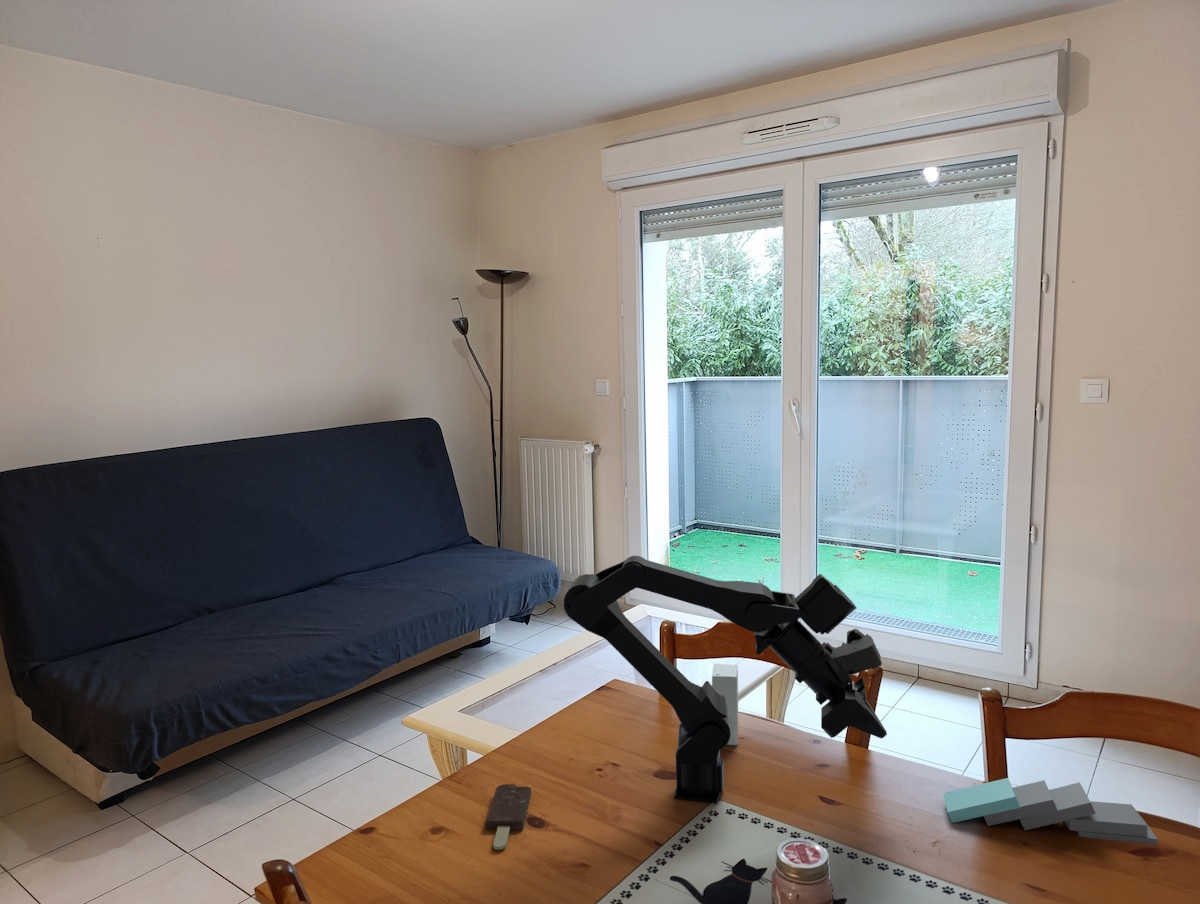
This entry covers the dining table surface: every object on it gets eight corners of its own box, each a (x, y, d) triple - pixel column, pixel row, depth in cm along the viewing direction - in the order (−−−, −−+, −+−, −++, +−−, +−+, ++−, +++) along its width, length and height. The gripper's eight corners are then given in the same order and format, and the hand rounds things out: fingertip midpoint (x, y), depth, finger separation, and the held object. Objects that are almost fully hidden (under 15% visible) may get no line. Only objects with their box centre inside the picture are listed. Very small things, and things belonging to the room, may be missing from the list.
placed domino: (947, 812, 107) (1015, 796, 104) (943, 793, 112) (1008, 777, 109) (952, 822, 107) (1020, 807, 104) (947, 803, 111) (1012, 788, 109)
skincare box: (738, 746, 131) (737, 677, 129) (712, 744, 131) (711, 676, 130) (739, 729, 136) (738, 663, 135) (714, 728, 137) (713, 662, 136)
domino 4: (1079, 831, 103) (1157, 839, 100) (1067, 810, 107) (1141, 817, 105) (1079, 842, 103) (1157, 850, 100) (1066, 821, 108) (1141, 828, 105)
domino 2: (1019, 819, 104) (1090, 802, 102) (1012, 799, 109) (1079, 782, 106) (1024, 830, 104) (1095, 813, 102) (1017, 809, 109) (1084, 792, 106)
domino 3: (1069, 818, 103) (1147, 825, 101) (1057, 798, 108) (1131, 804, 105) (1069, 830, 103) (1147, 837, 101) (1057, 809, 108) (1131, 815, 105)
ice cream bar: (518, 853, 104) (531, 793, 119) (517, 842, 104) (531, 783, 119) (479, 854, 104) (497, 794, 119) (478, 842, 104) (497, 783, 119)
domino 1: (983, 815, 106) (1052, 799, 103) (977, 795, 110) (1044, 780, 107) (987, 826, 106) (1057, 810, 103) (982, 806, 110) (1049, 790, 107)
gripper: (848, 641, 102) (937, 730, 100) (844, 600, 119) (920, 675, 118) (786, 693, 105) (872, 781, 103) (791, 645, 122) (864, 720, 121)
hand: (884, 735), depth 111 cm, fingers closed
